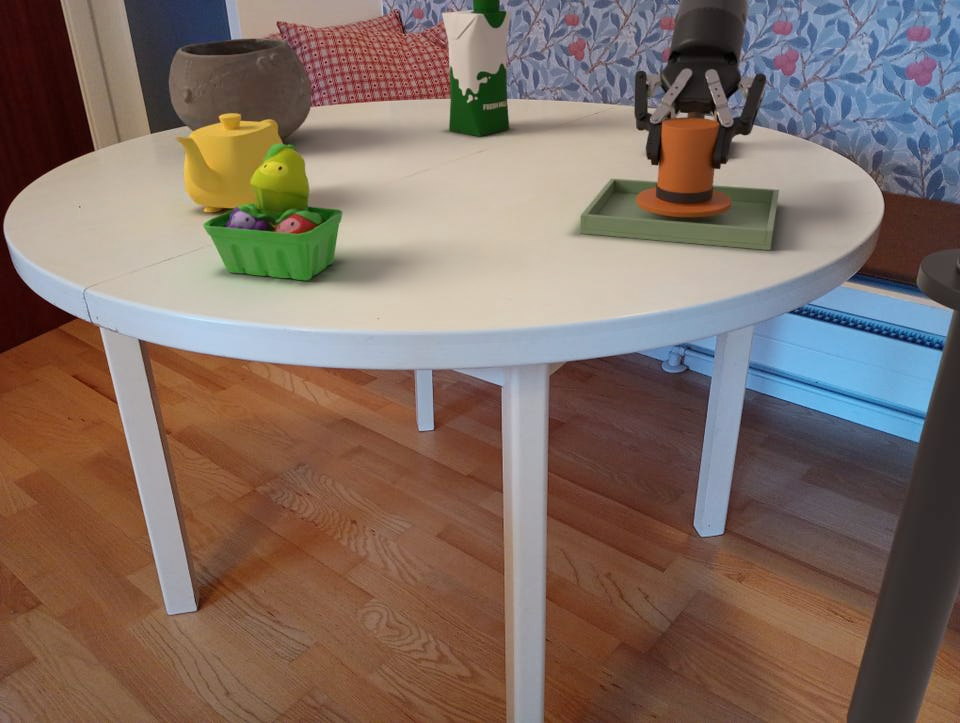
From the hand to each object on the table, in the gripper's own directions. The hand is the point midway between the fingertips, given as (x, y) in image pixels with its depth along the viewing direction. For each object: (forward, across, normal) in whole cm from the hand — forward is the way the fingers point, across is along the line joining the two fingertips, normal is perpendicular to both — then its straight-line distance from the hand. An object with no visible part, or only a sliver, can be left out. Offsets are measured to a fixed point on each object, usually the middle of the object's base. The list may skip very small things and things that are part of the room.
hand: (684, 162), depth 86 cm
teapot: (+10, +51, 0) cm, 52 cm away
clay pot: (-11, +70, -21) cm, 74 cm away
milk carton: (-24, +38, -34) cm, 56 cm away
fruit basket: (+21, +35, +12) cm, 43 cm away
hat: (+2, 0, -5) cm, 5 cm away
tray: (+4, 0, -6) cm, 7 cm away
